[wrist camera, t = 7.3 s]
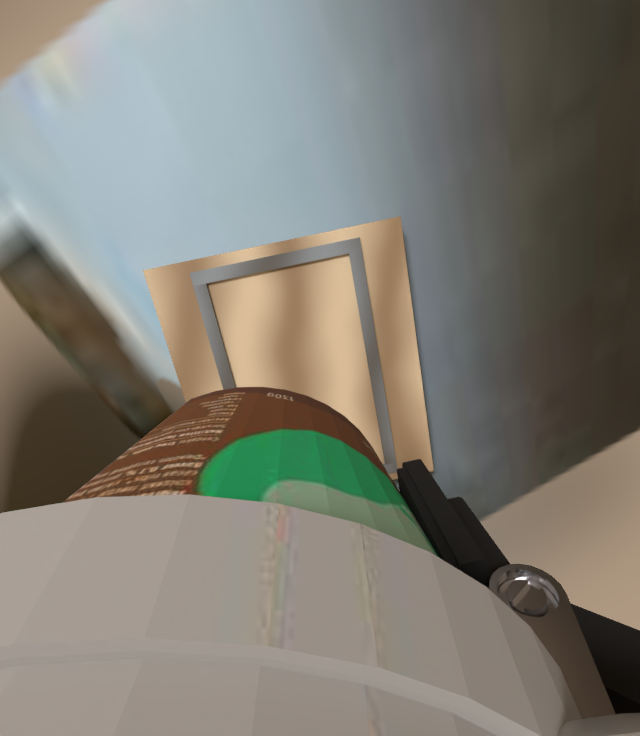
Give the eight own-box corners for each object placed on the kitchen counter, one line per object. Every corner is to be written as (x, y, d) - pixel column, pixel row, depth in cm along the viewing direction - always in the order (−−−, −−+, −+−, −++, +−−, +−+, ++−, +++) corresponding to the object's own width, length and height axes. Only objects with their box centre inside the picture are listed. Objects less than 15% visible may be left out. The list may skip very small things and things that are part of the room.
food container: (456, 578, 15) (764, 1166, 5) (313, 631, 15) (350, 1292, 5) (351, 283, 11) (669, 380, 2) (168, 357, 12) (-442, 808, 2)
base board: (393, 219, 24) (401, 216, 22) (426, 460, 29) (434, 472, 27) (152, 270, 24) (141, 270, 22) (226, 504, 29) (222, 518, 27)
